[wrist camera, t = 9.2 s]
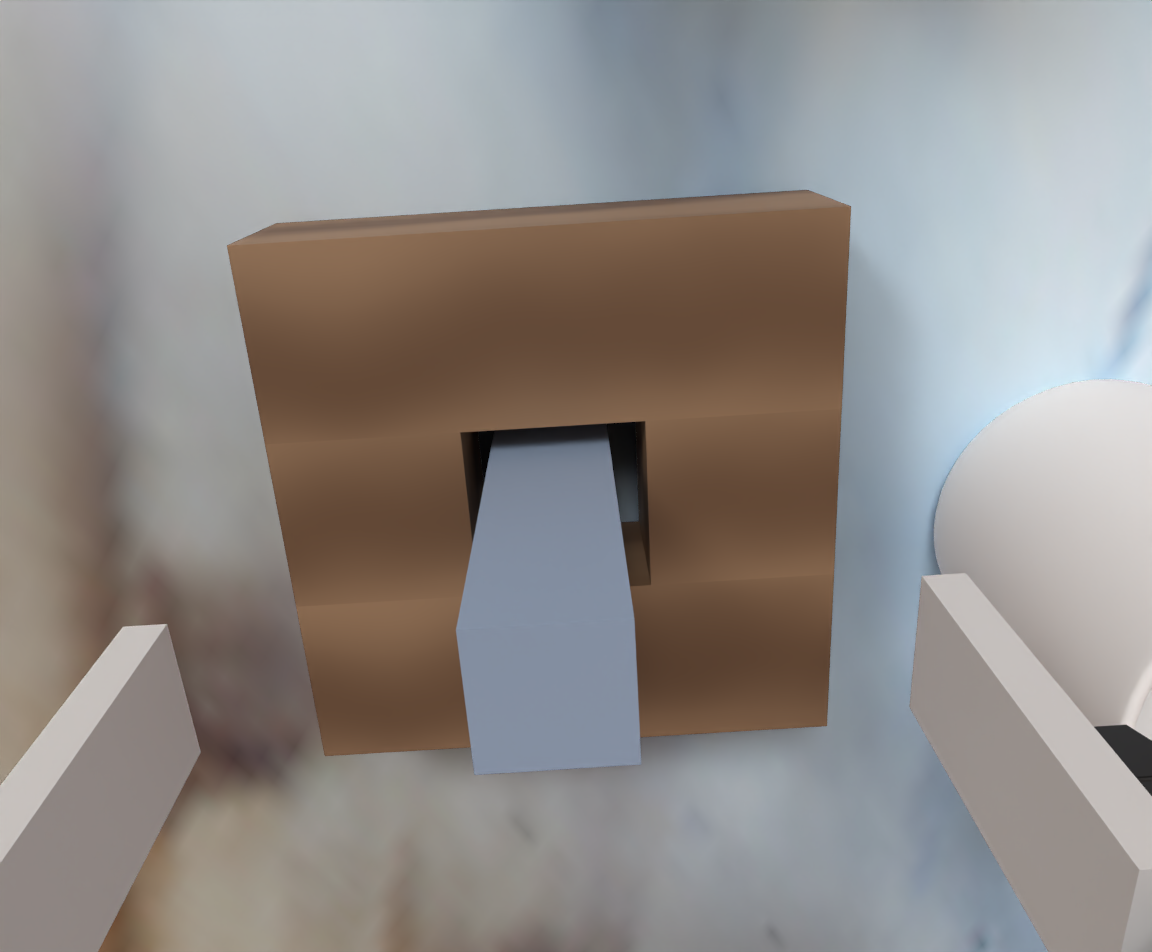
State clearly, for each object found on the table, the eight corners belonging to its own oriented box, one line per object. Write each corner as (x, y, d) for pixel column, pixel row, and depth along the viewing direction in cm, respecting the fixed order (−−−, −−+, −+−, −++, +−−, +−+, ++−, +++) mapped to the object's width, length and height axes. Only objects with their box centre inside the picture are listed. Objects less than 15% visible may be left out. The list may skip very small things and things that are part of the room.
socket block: (275, 223, 25) (226, 245, 21) (807, 189, 25) (850, 206, 21) (353, 675, 30) (324, 755, 27) (793, 648, 30) (826, 725, 27)
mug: (833, 681, 31) (965, 961, 21) (1005, 332, 27) (1272, 473, 17) (1069, 745, 32) (1302, 1041, 22) (1270, 419, 28) (1670, 602, 18)
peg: (498, 410, 27) (456, 630, 16) (603, 403, 27) (634, 618, 16) (507, 506, 28) (474, 775, 17) (608, 499, 28) (641, 764, 17)
